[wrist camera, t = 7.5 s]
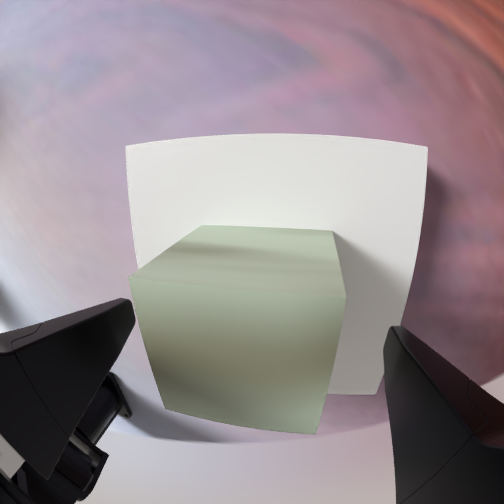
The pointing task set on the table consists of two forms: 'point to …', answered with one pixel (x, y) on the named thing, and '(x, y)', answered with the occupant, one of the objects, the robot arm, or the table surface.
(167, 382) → the sage cube
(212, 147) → the white block
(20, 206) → the table surface
